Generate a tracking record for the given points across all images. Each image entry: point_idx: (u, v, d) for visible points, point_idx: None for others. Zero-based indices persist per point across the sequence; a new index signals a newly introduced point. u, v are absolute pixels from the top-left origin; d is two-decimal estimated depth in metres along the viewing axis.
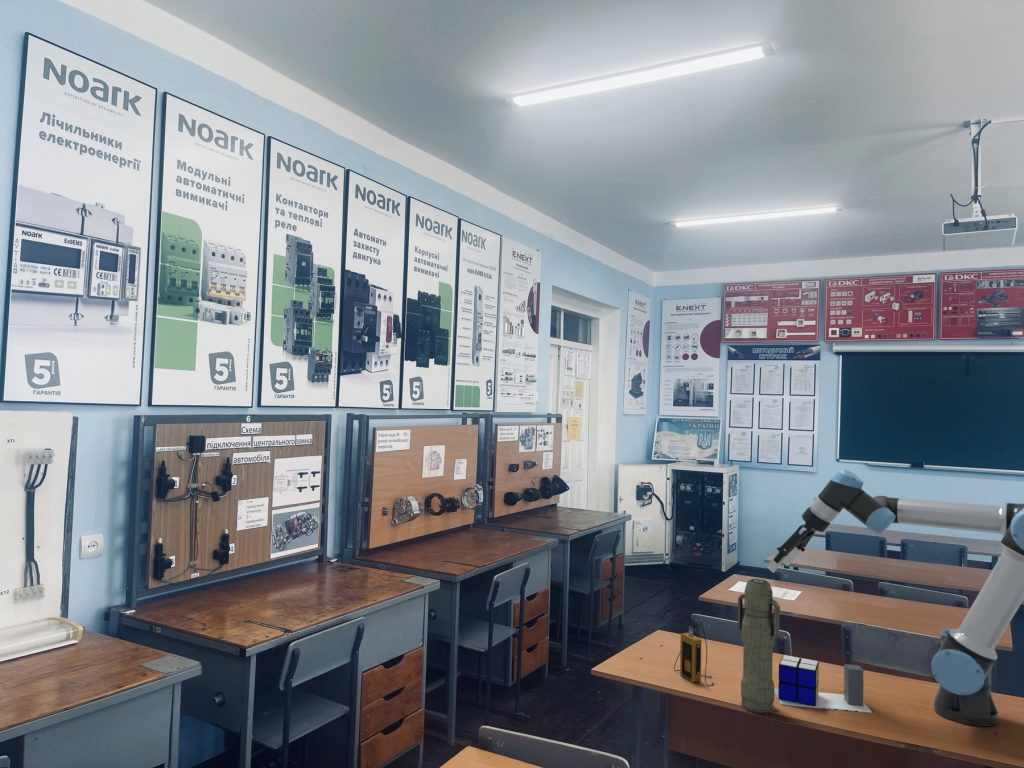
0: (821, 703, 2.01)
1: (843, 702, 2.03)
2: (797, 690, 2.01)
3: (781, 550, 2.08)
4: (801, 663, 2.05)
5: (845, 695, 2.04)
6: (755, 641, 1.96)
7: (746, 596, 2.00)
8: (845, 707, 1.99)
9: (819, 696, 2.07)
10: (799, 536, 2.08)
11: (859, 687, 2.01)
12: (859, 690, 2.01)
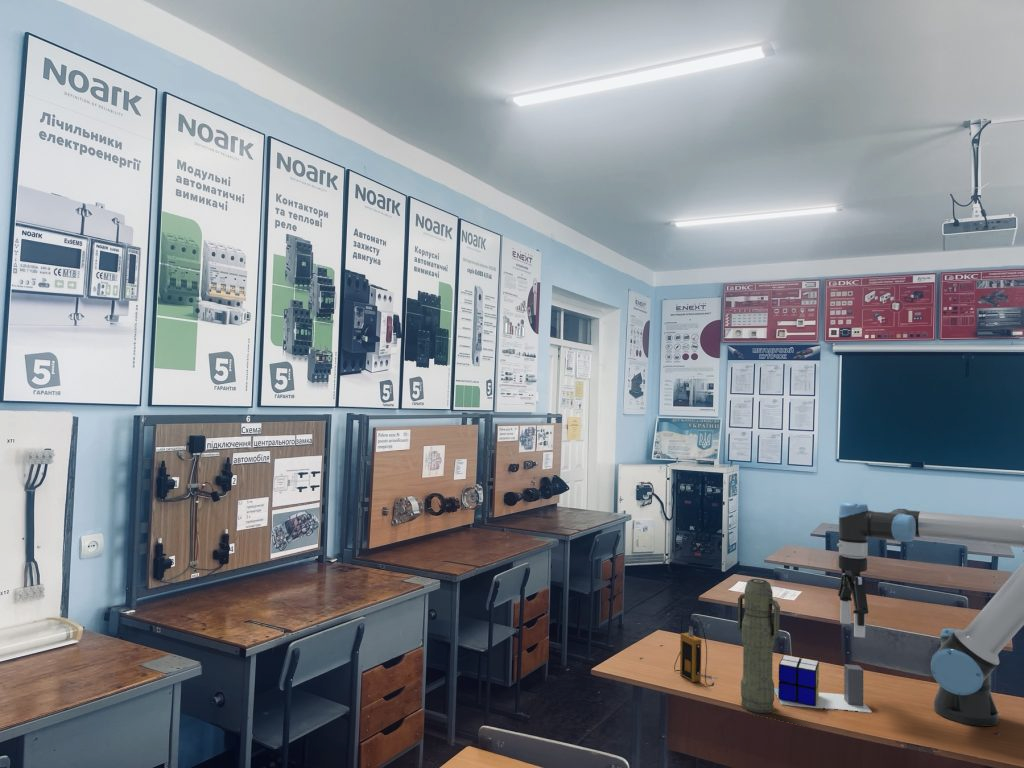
0: (821, 703, 2.01)
1: (843, 702, 2.03)
2: (797, 690, 2.01)
3: (862, 611, 1.95)
4: (801, 663, 2.05)
5: (845, 695, 2.04)
6: (755, 641, 1.96)
7: (746, 596, 2.00)
8: (845, 707, 1.99)
9: (819, 696, 2.07)
10: (862, 587, 1.98)
11: (859, 687, 2.01)
12: (859, 690, 2.01)
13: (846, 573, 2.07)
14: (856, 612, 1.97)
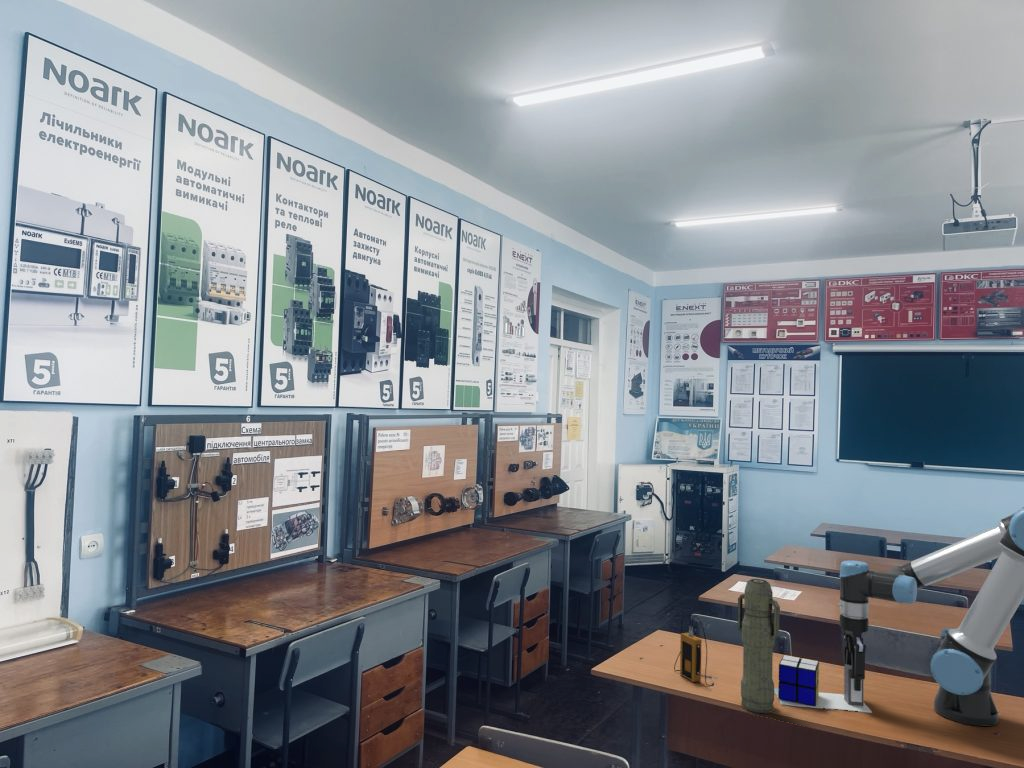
0: (821, 703, 2.01)
1: (843, 702, 2.03)
2: (797, 690, 2.01)
3: (858, 676, 1.98)
4: (801, 663, 2.05)
5: (845, 695, 2.04)
6: (755, 641, 1.96)
7: (746, 596, 2.00)
8: (845, 707, 1.99)
9: (819, 696, 2.07)
10: (862, 654, 1.98)
11: None
12: None
13: (847, 631, 2.06)
14: (853, 678, 2.00)
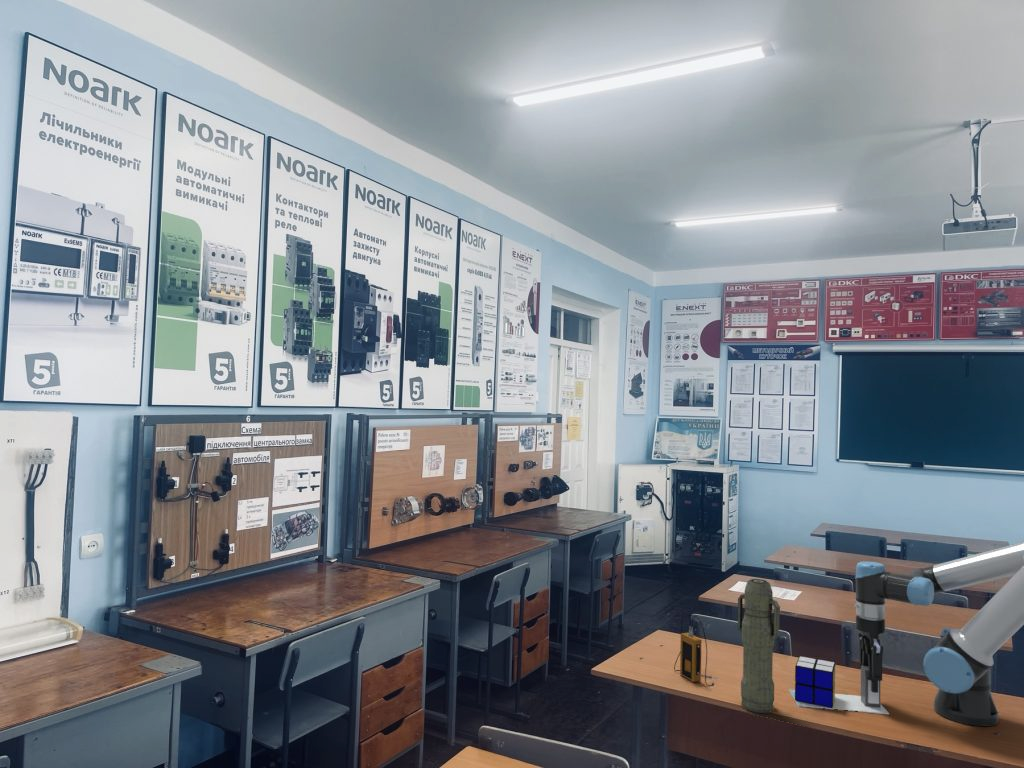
0: (838, 705, 2.01)
1: (860, 704, 2.02)
2: (814, 691, 2.00)
3: (876, 678, 1.97)
4: (817, 664, 2.04)
5: (861, 697, 2.04)
6: (755, 641, 1.96)
7: (746, 596, 2.00)
8: (862, 709, 1.98)
9: (835, 697, 2.06)
10: (879, 655, 1.97)
11: None
12: None
13: (863, 632, 2.06)
14: (870, 679, 1.99)
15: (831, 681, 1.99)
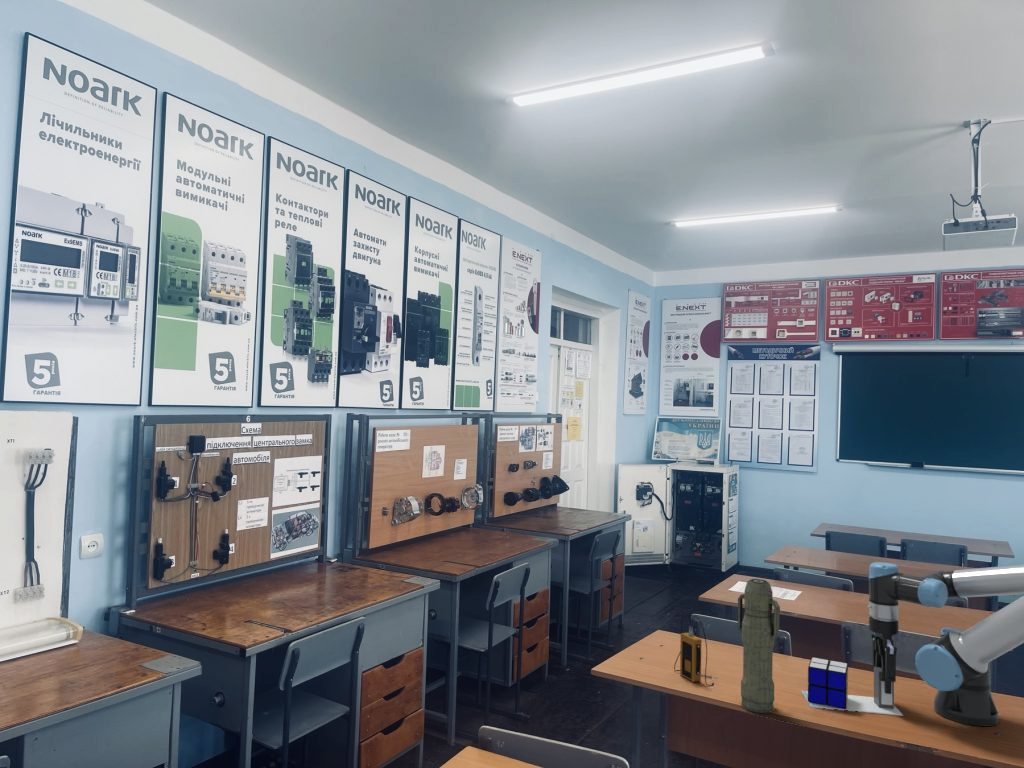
0: (851, 706, 2.00)
1: (873, 705, 2.01)
2: (827, 693, 2.00)
3: (889, 679, 1.97)
4: (830, 665, 2.04)
5: (875, 698, 2.03)
6: (755, 641, 1.96)
7: (746, 596, 2.00)
8: (876, 710, 1.98)
9: (848, 699, 2.05)
10: (893, 656, 1.96)
11: None
12: None
13: (876, 633, 2.05)
14: (883, 680, 1.99)
15: (844, 682, 1.98)
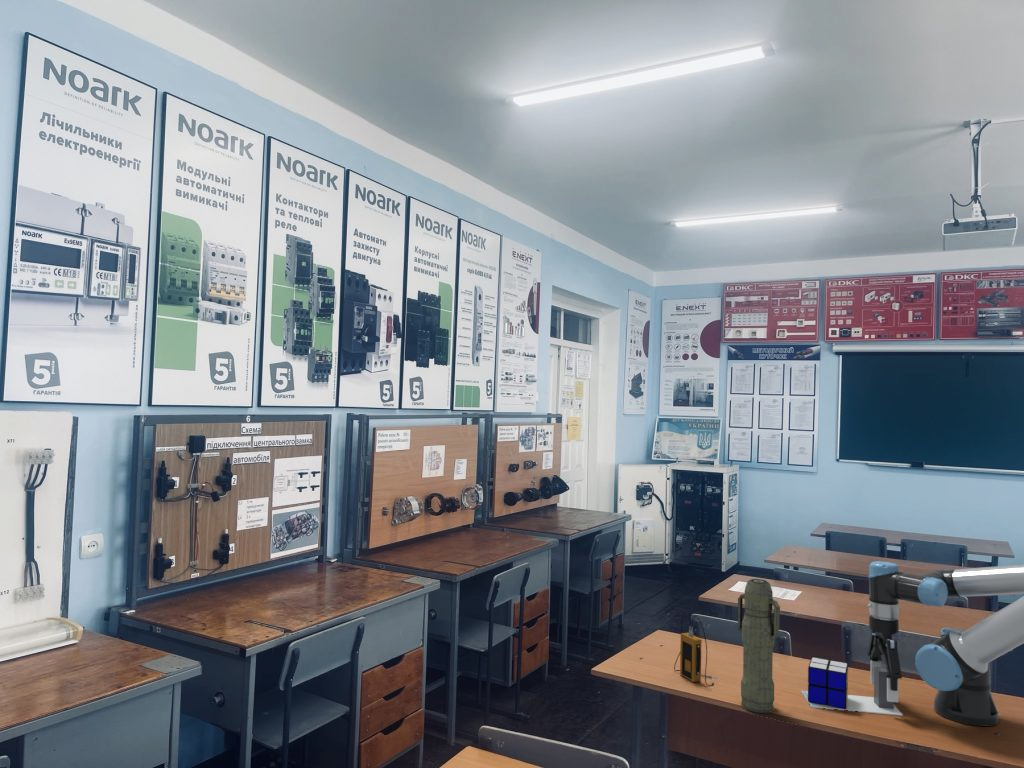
0: (851, 706, 2.00)
1: (873, 705, 2.01)
2: (827, 693, 2.00)
3: (895, 676, 1.92)
4: (830, 665, 2.04)
5: (875, 698, 2.03)
6: (755, 641, 1.96)
7: (746, 596, 2.00)
8: (876, 710, 1.98)
9: (848, 699, 2.05)
10: (895, 650, 1.95)
11: None
12: None
13: (877, 634, 2.05)
14: (889, 677, 1.94)
15: (844, 682, 1.98)
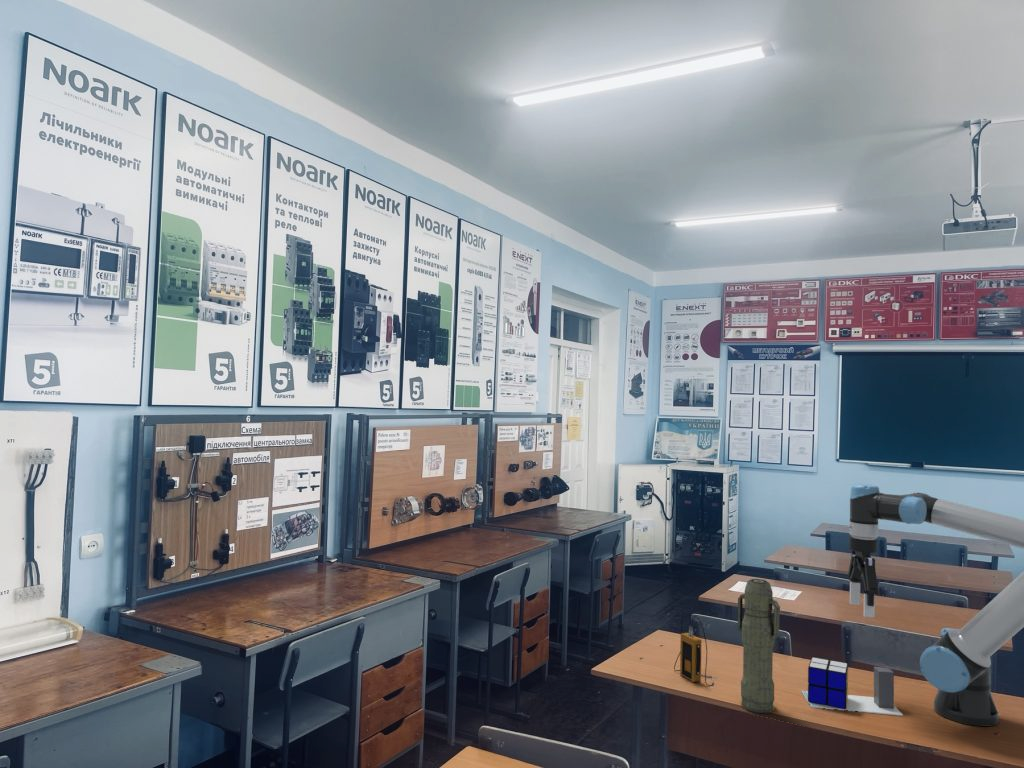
0: (851, 706, 2.00)
1: (873, 705, 2.01)
2: (827, 693, 2.00)
3: (872, 591, 1.97)
4: (830, 665, 2.04)
5: (875, 698, 2.03)
6: (755, 641, 1.96)
7: (746, 596, 2.00)
8: (876, 710, 1.98)
9: (848, 699, 2.05)
10: (872, 567, 2.00)
11: (889, 689, 2.00)
12: (890, 692, 2.00)
13: (856, 554, 2.09)
14: (866, 592, 1.99)
15: (844, 682, 1.98)
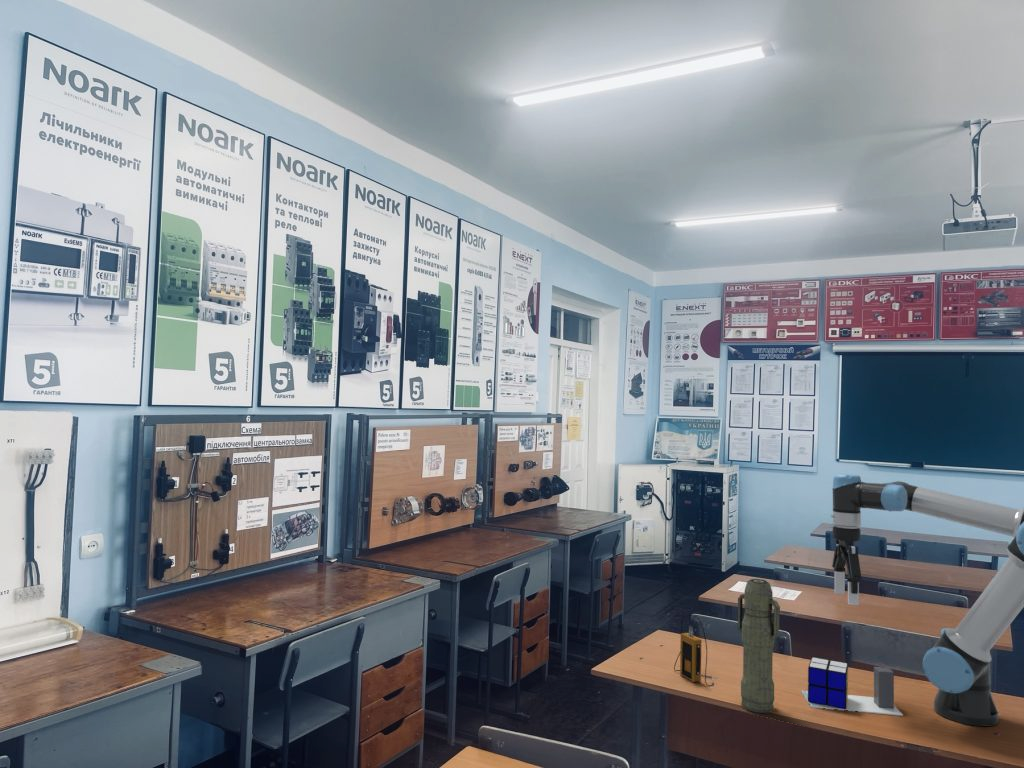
0: (851, 706, 2.00)
1: (873, 705, 2.01)
2: (827, 693, 2.00)
3: (855, 578, 1.99)
4: (830, 665, 2.04)
5: (875, 698, 2.03)
6: (755, 641, 1.96)
7: (746, 596, 2.00)
8: (876, 710, 1.98)
9: (848, 699, 2.05)
10: (855, 555, 2.02)
11: (889, 689, 2.00)
12: (890, 692, 2.00)
13: (840, 544, 2.12)
14: (850, 580, 2.01)
15: (844, 682, 1.98)
